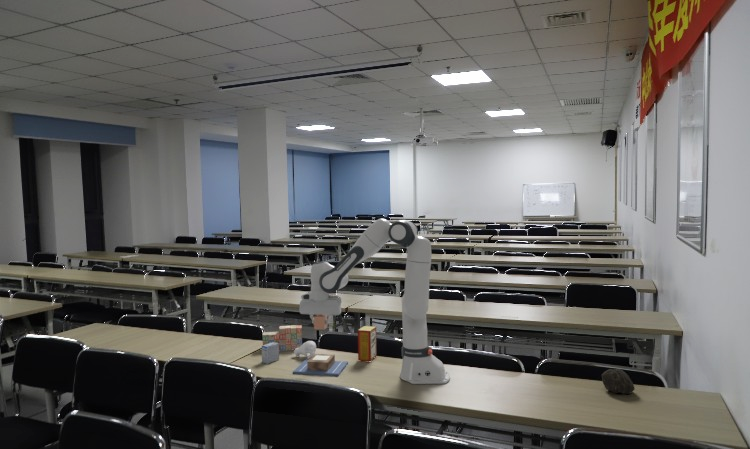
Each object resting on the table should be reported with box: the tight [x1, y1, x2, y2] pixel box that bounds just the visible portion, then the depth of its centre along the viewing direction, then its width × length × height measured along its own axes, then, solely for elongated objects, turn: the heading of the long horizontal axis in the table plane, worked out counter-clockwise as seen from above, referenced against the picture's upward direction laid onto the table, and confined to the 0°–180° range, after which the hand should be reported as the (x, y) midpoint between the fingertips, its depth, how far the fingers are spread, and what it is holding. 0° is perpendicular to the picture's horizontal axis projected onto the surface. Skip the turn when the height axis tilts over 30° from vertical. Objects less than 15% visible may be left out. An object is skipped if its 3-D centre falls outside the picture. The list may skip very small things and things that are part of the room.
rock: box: [601, 368, 635, 395], centre depth 198 cm, size 10×11×10 cm
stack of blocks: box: [262, 324, 303, 352], centre depth 266 cm, size 21×6×12 cm, turn 101°
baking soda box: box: [357, 325, 378, 362], centre depth 247 cm, size 10×6×16 cm
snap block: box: [313, 315, 328, 330], centre depth 232 cm, size 5×5×6 cm
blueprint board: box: [292, 353, 349, 377], centre depth 233 cm, size 22×18×5 cm
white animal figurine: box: [293, 340, 317, 360], centre depth 251 cm, size 6×8×12 cm
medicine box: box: [261, 342, 280, 365], centre depth 245 cm, size 8×4×9 cm, turn 144°
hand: (320, 323), depth 232 cm, fingers closed on snap block, 5 cm apart
